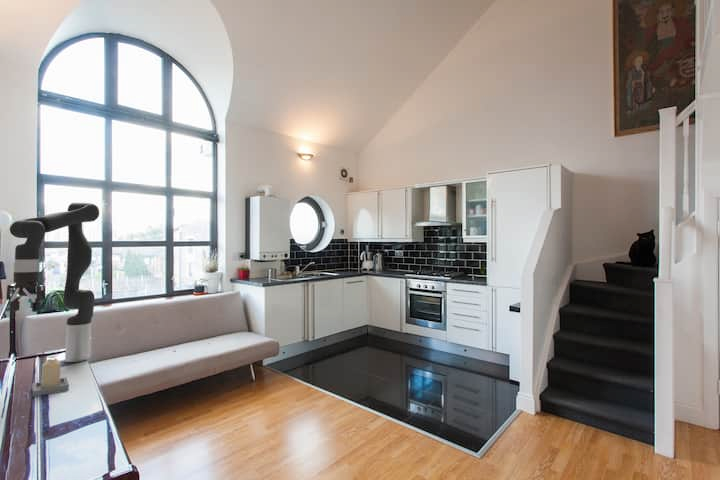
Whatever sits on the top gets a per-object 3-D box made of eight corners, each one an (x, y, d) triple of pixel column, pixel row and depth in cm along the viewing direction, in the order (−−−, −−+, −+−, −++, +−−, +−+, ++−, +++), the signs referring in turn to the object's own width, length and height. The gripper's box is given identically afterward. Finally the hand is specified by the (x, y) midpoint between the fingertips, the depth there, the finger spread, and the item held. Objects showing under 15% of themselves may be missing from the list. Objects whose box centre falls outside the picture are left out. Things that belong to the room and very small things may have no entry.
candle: (37, 387, 134) (38, 361, 134) (54, 382, 139) (55, 357, 139) (46, 390, 132) (48, 362, 132) (63, 384, 137) (64, 358, 137)
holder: (32, 388, 135) (32, 383, 135) (66, 382, 142) (66, 377, 142) (32, 396, 128) (33, 391, 128) (68, 389, 135) (68, 384, 135)
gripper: (52, 270, 145) (51, 310, 145) (19, 269, 146) (18, 308, 146) (34, 271, 138) (32, 313, 138) (0, 270, 139) (-2, 312, 139)
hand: (25, 311), depth 142 cm, fingers open, 8 cm apart
